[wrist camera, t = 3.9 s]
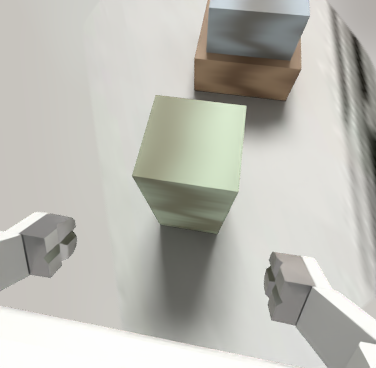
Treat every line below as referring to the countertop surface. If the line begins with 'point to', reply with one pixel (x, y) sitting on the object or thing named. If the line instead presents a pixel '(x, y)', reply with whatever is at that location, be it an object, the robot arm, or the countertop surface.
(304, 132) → the countertop surface
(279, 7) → the pedestal
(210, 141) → the green brick
